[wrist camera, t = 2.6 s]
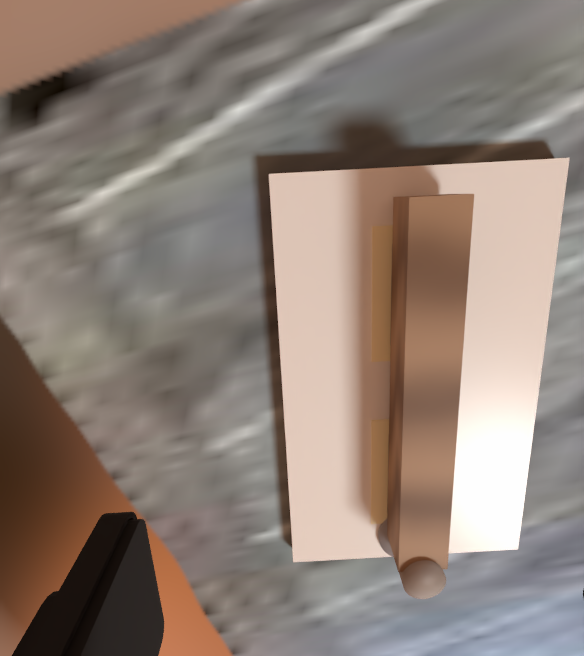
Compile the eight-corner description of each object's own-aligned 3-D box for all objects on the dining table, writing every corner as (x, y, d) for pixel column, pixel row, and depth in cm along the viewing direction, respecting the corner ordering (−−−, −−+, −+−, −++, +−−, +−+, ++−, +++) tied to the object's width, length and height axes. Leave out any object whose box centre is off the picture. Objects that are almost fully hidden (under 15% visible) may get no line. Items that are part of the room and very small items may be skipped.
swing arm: (429, 553, 30) (448, 597, 26) (386, 556, 30) (399, 600, 26) (449, 194, 23) (478, 193, 19) (393, 196, 23) (411, 197, 19)
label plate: (269, 174, 24) (268, 173, 22) (555, 159, 24) (573, 157, 22) (292, 548, 32) (293, 565, 30) (509, 536, 32) (520, 552, 30)
